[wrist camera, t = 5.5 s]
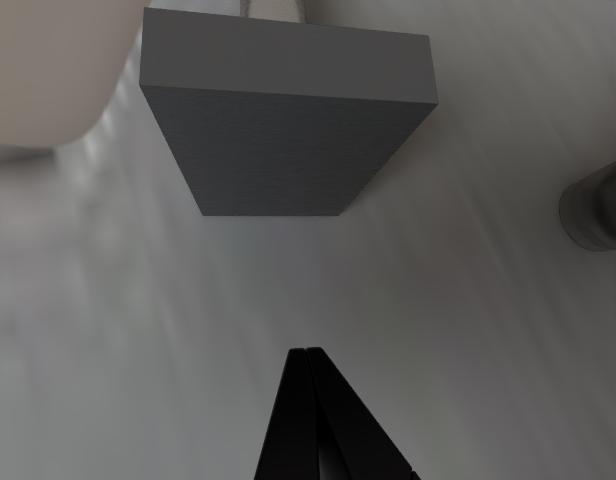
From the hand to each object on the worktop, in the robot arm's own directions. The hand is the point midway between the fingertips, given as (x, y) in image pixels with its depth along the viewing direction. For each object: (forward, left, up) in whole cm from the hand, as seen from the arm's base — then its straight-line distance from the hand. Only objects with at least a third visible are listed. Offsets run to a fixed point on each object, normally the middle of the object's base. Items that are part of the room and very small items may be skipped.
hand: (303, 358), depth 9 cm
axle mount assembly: (+13, 0, -8) cm, 15 cm away
